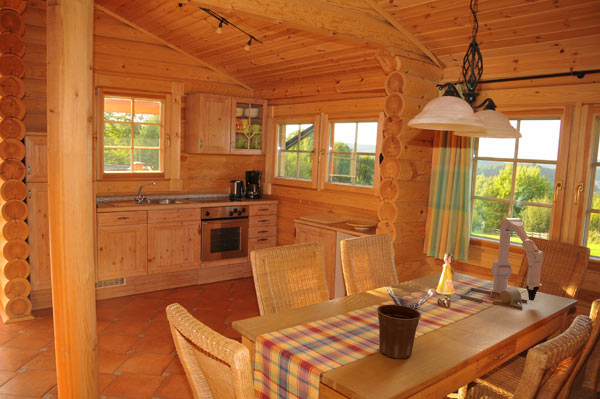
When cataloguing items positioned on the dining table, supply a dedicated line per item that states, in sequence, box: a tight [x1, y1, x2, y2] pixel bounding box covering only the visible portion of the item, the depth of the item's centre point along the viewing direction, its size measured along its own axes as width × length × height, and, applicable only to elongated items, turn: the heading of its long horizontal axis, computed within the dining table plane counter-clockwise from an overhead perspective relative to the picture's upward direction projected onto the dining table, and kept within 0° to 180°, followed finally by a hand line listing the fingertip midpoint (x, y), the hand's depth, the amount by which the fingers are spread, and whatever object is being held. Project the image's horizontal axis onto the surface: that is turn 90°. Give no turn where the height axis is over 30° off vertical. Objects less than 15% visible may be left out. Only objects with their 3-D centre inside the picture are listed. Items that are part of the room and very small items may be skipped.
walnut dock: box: [492, 293, 528, 310], centre depth 237 cm, size 15×14×2 cm
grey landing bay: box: [460, 286, 493, 303], centre depth 247 cm, size 20×12×2 cm, turn 144°
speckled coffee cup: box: [499, 287, 523, 306], centre depth 235 cm, size 11×8×8 cm
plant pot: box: [376, 303, 422, 360], centre depth 170 cm, size 16×16×16 cm
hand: (531, 300), depth 231 cm, fingers closed
